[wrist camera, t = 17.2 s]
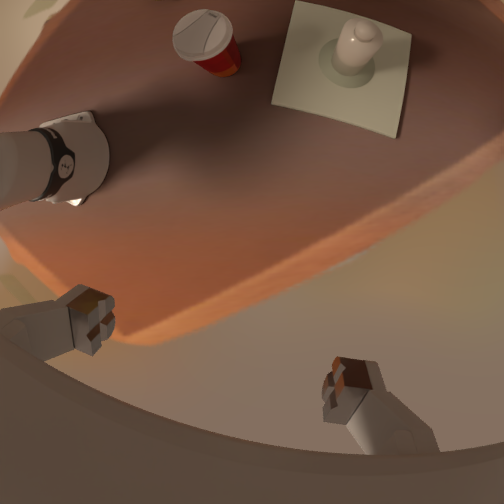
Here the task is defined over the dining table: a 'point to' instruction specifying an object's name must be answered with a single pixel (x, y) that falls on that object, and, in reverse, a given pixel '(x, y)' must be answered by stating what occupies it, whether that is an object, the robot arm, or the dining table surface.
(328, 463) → the robot arm
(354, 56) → the cream bottle
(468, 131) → the dining table surface
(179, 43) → the paper cup
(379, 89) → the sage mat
